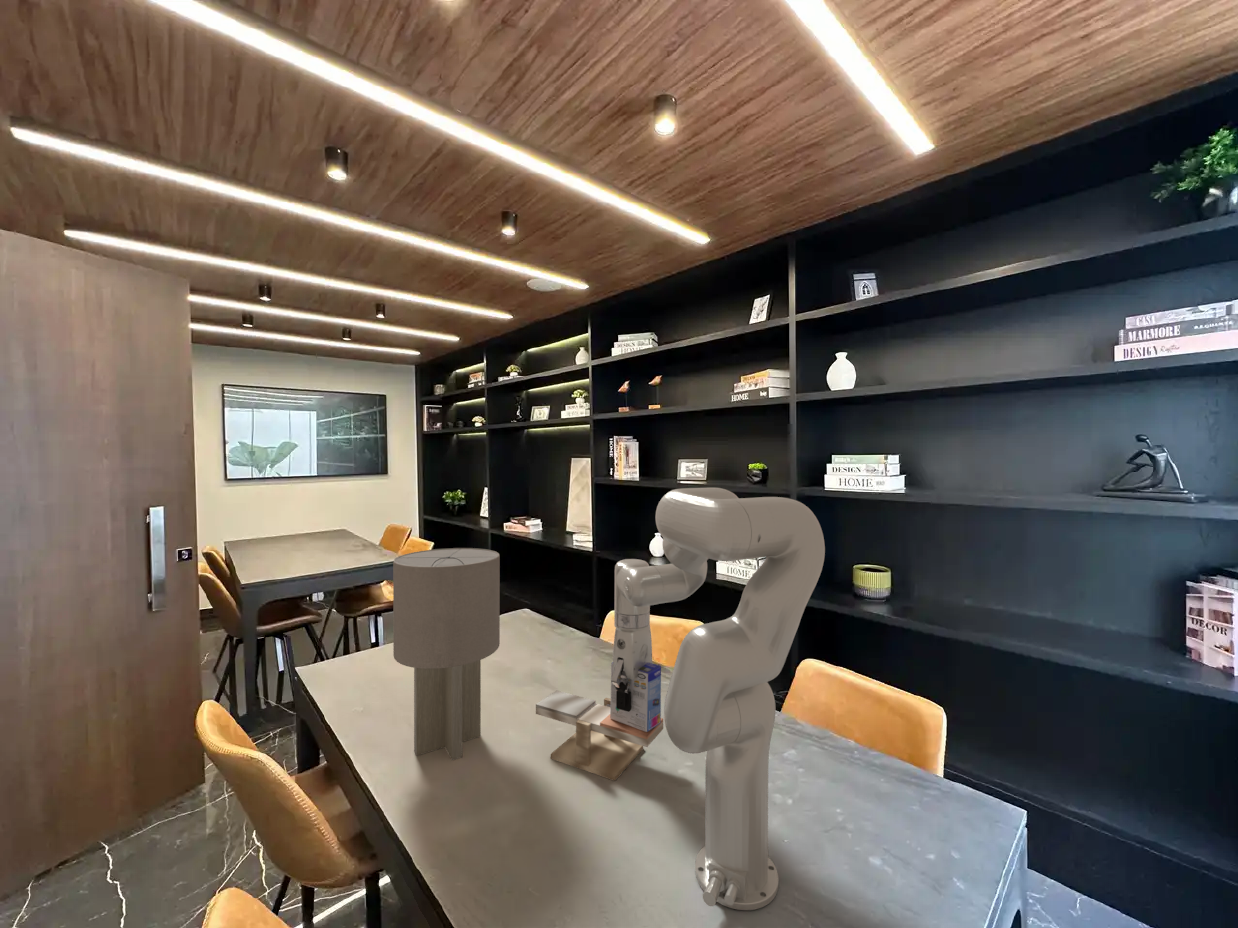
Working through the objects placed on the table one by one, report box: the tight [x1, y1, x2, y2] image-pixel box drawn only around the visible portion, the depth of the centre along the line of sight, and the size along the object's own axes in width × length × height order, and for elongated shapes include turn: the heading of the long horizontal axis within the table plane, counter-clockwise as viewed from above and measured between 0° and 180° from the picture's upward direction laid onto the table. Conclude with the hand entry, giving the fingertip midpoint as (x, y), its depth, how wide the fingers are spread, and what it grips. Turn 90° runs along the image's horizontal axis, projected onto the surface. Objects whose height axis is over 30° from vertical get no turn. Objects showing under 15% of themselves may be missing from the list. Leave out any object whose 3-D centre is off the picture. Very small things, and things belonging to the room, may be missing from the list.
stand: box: [550, 697, 644, 781], centre depth 112 cm, size 16×13×10 cm
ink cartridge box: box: [610, 653, 662, 732], centre depth 108 cm, size 10×6×14 cm, turn 54°
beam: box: [535, 690, 664, 748], centre depth 112 cm, size 28×10×2 cm, turn 61°
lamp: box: [392, 547, 501, 761], centre depth 116 cm, size 23×23×43 cm
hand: (631, 701), depth 108 cm, fingers open, 6 cm apart
